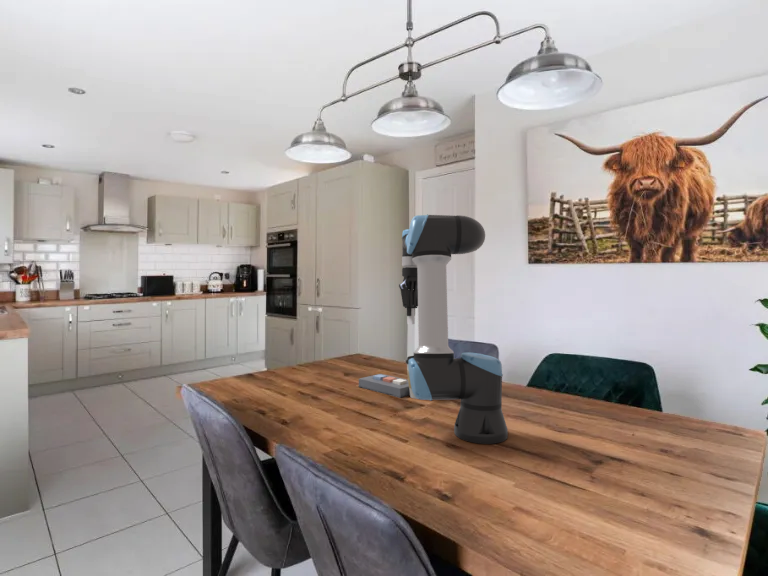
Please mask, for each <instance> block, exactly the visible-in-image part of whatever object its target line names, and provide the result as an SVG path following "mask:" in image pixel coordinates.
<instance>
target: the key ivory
mask: <svg viewBox="0 0 768 576" xmlns="http://www.w3.org/2000/svg"><path fill="white" fill-rule="evenodd" d="M403 379H404V378H403ZM403 379H396V380H393V384H398V385H403V384H406V383H407V380H408V379H407V380H403Z"/></svg>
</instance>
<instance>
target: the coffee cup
mask: <svg viewBox="0 0 768 576" xmlns="http://www.w3.org/2000/svg"><path fill="white" fill-rule="evenodd" d="M411 358H414V355H409V356H407V358H406V360H405V364H406V372H407V373H406V375H407V380H408V384H409V390H410V395H409V396H410V398H411V399H415V400H416V399H417V398H416V397H415V396H414V394H413V391H412V388H411V383H410V377H409V368H408V367H409V365H408V361H409V359H411ZM417 400H418V399H417Z"/></svg>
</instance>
